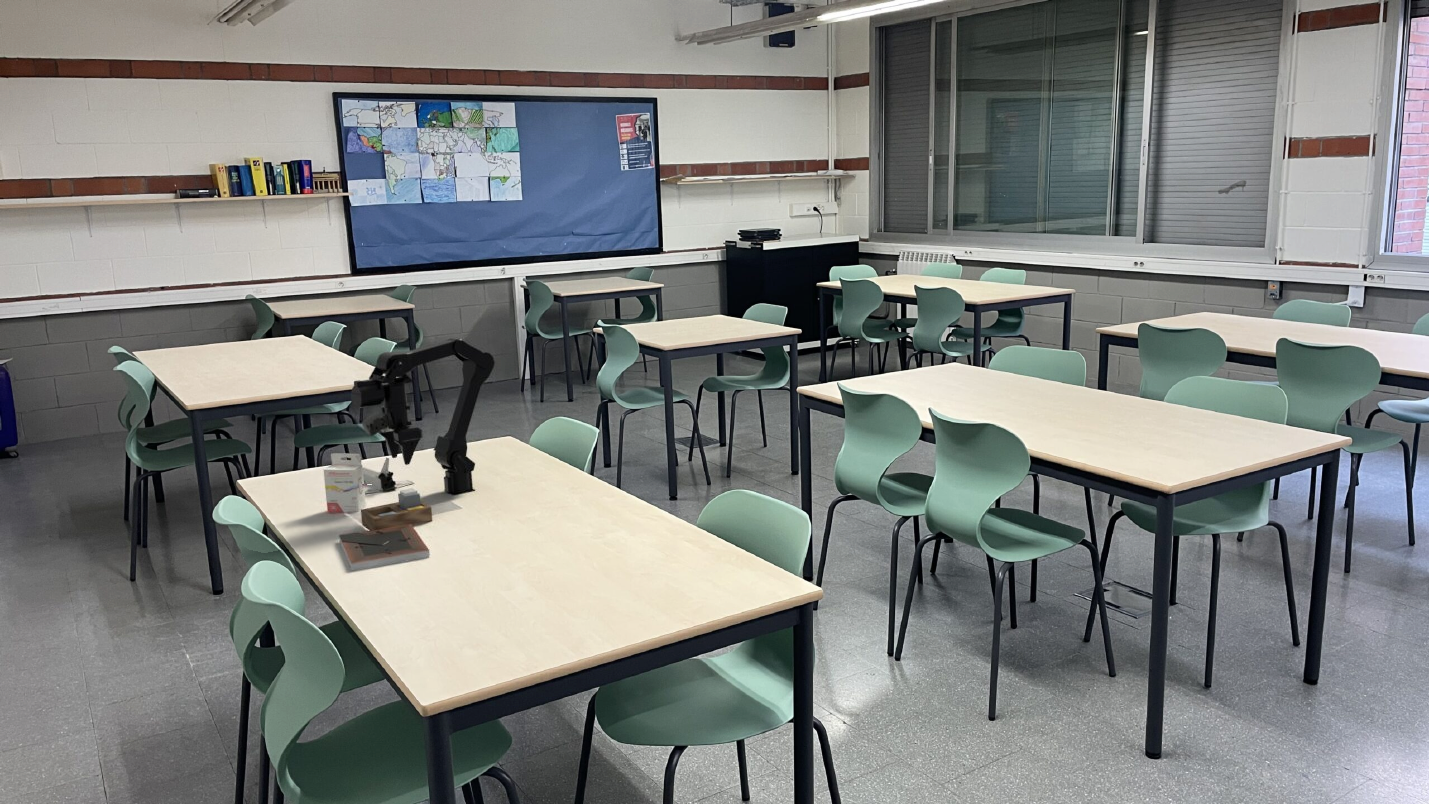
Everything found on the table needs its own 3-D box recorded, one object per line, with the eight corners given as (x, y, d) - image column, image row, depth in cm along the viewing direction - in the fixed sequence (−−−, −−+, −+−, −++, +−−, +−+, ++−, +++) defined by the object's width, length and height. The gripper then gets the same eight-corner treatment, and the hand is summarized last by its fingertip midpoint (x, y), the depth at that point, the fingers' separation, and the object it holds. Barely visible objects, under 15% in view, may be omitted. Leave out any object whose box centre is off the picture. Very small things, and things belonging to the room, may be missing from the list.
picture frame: (340, 544, 239) (352, 573, 220) (338, 534, 238) (351, 562, 219) (412, 532, 246) (430, 559, 227) (411, 523, 245) (429, 549, 226)
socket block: (417, 513, 259) (416, 497, 258) (432, 522, 251) (431, 506, 250) (362, 525, 250) (360, 508, 250) (376, 535, 243) (374, 518, 242)
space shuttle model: (385, 471, 303) (382, 438, 301) (419, 488, 284) (416, 453, 282) (332, 481, 293) (329, 447, 291) (364, 499, 274) (360, 463, 272)
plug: (416, 514, 255) (413, 487, 254) (421, 518, 252) (419, 490, 251) (400, 517, 253) (397, 490, 252) (406, 521, 250) (403, 494, 248)
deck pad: (450, 503, 267) (450, 501, 267) (462, 510, 260) (462, 508, 260) (420, 509, 262) (420, 507, 262) (432, 516, 256) (432, 514, 256)
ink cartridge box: (326, 513, 261) (320, 457, 258) (335, 507, 266) (329, 453, 263) (358, 513, 260) (353, 457, 257) (367, 507, 265) (361, 452, 262)
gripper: (351, 401, 263) (357, 459, 266) (376, 412, 248) (382, 474, 251) (394, 395, 269) (399, 452, 272) (420, 405, 255) (425, 466, 258)
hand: (400, 461), depth 263 cm, fingers open, 9 cm apart
